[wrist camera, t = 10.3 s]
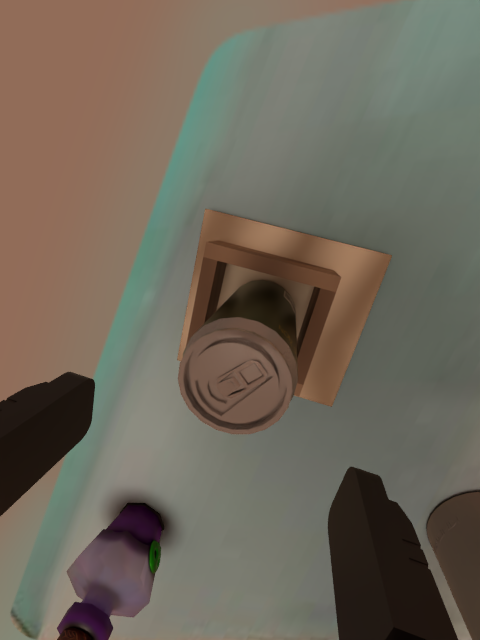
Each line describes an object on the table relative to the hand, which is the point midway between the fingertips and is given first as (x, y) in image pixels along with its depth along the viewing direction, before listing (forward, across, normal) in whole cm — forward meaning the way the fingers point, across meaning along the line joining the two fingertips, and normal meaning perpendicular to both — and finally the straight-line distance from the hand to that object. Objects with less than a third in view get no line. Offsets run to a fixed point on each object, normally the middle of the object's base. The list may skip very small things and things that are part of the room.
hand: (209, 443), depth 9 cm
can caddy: (+17, 0, 0) cm, 17 cm away
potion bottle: (+17, +7, +29) cm, 34 cm away
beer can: (+16, 0, 0) cm, 16 cm away
